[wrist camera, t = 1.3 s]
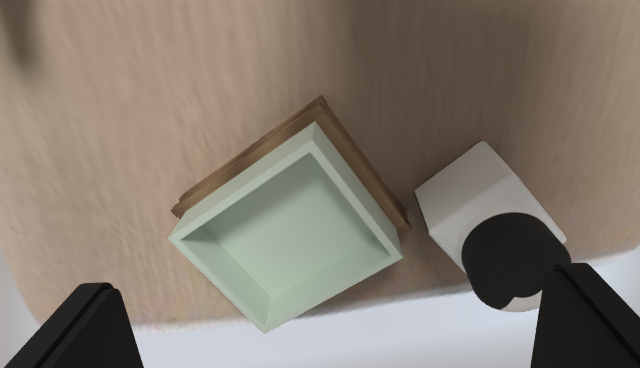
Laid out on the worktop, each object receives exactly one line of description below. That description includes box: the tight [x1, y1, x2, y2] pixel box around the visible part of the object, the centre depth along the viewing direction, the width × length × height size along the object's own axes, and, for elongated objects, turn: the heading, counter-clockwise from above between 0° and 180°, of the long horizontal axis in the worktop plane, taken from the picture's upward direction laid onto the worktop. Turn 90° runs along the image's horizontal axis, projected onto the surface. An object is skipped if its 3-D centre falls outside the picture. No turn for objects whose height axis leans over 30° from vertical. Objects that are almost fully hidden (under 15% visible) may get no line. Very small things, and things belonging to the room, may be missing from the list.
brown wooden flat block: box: [171, 95, 411, 237], centre depth 37 cm, size 15×13×3 cm
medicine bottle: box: [414, 141, 571, 312], centre depth 32 cm, size 7×7×12 cm
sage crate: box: [168, 121, 403, 334], centre depth 33 cm, size 13×11×4 cm
